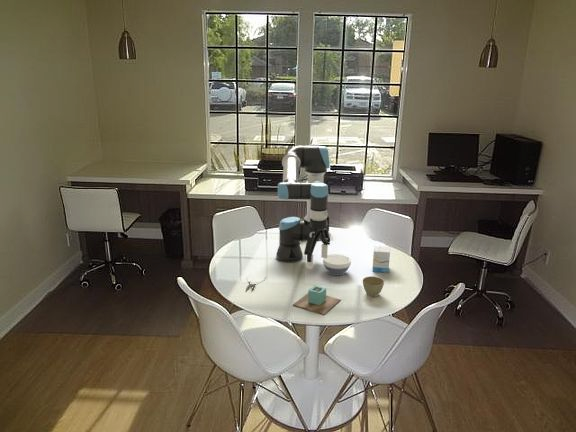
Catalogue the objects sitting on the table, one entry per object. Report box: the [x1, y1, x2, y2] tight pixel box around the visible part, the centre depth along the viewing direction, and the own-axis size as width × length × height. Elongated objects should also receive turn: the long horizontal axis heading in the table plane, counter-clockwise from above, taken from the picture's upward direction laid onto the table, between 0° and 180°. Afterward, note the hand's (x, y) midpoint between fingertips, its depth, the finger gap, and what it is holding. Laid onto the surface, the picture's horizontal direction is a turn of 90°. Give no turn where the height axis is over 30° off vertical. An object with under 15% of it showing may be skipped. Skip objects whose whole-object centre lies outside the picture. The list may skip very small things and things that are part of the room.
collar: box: [307, 285, 327, 305], centre depth 204 cm, size 6×6×6 cm
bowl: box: [322, 253, 352, 276], centre depth 238 cm, size 14×14×8 cm
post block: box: [292, 289, 342, 316], centre depth 204 cm, size 16×16×7 cm
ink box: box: [372, 245, 391, 273], centre depth 242 cm, size 8×8×12 cm
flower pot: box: [362, 275, 385, 298], centre depth 213 cm, size 10×10×7 cm
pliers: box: [245, 283, 257, 292], centre depth 225 cm, size 10×1×20 cm
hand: (317, 262), depth 204 cm, fingers open, 13 cm apart
